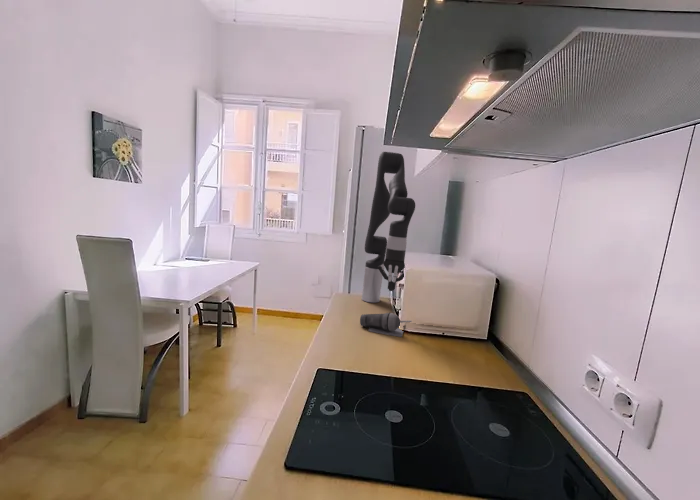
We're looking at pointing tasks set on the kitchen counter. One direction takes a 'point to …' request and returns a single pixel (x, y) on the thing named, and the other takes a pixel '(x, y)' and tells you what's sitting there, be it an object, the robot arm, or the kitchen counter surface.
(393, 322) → the beverage cup
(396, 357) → the kitchen counter surface
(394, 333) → the rubber mat
